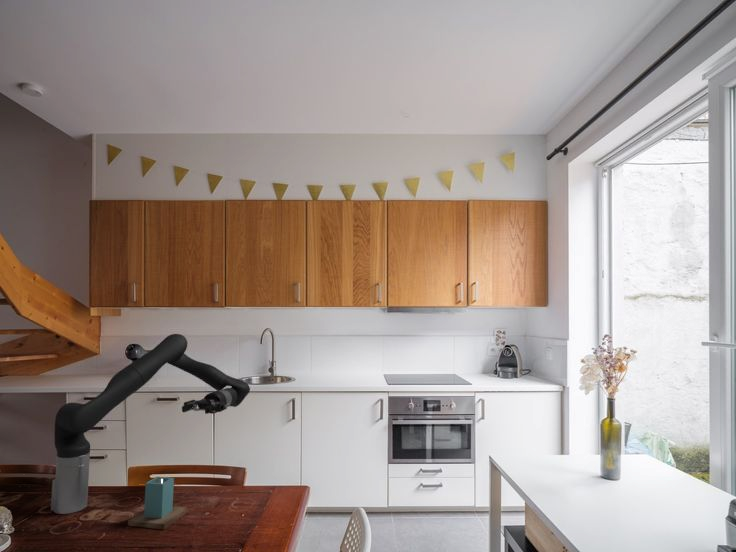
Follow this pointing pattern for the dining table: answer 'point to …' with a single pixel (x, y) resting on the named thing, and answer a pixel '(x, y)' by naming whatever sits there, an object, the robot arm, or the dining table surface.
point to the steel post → (160, 480)
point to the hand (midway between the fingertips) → (194, 410)
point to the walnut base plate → (157, 519)
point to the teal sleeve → (158, 498)
